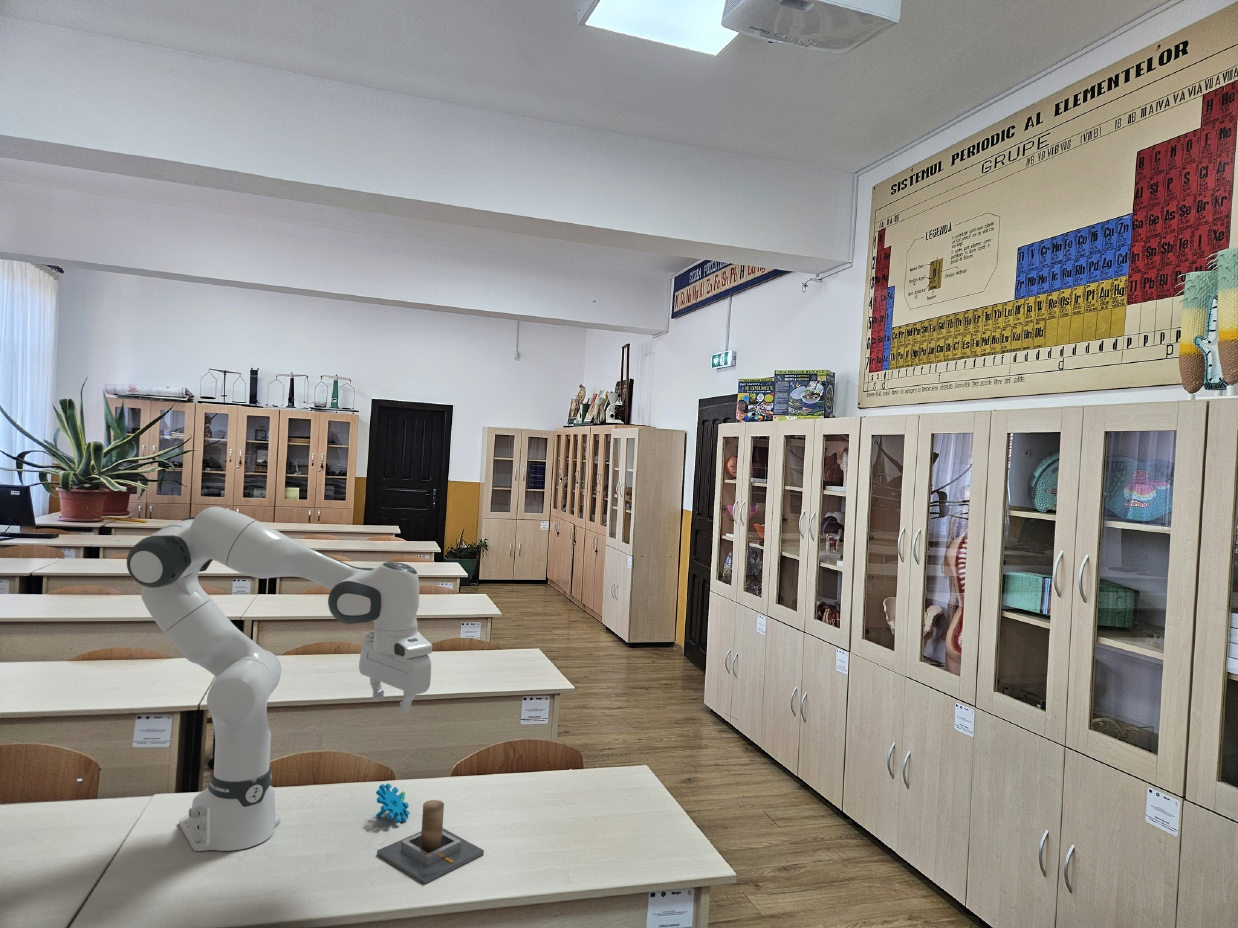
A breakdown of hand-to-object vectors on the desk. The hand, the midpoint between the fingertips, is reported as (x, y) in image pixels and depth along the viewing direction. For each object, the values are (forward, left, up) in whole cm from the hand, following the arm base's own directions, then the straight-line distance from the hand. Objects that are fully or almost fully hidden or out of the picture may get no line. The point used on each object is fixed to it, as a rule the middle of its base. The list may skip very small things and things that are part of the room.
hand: (391, 704), depth 165 cm
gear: (-13, +12, -33) cm, 38 cm away
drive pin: (+6, +8, -32) cm, 34 cm away
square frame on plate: (+6, +8, -33) cm, 35 cm away
